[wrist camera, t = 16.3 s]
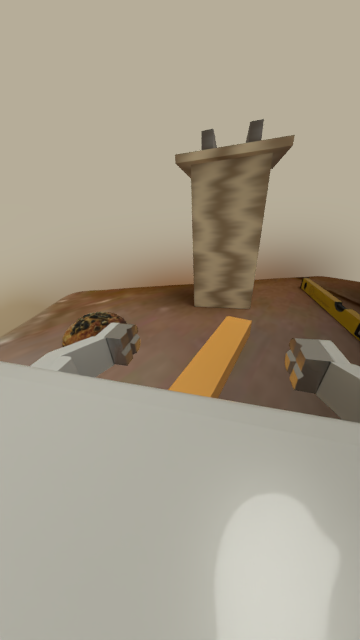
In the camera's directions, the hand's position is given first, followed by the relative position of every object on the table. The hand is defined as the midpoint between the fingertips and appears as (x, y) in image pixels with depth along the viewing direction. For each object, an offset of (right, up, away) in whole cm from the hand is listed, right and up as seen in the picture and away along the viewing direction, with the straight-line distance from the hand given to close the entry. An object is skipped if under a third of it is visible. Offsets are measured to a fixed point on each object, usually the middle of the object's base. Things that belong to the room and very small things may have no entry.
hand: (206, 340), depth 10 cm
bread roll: (-17, -2, +23) cm, 29 cm away
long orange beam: (+3, -6, +14) cm, 15 cm away
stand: (+9, +6, +33) cm, 35 cm away
